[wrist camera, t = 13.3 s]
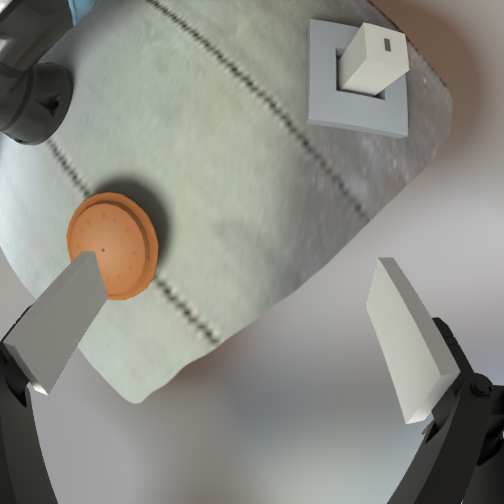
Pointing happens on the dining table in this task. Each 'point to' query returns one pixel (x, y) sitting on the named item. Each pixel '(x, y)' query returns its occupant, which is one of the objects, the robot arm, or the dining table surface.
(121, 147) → the dining table surface
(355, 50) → the brick
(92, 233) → the pie
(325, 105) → the gray socket base
